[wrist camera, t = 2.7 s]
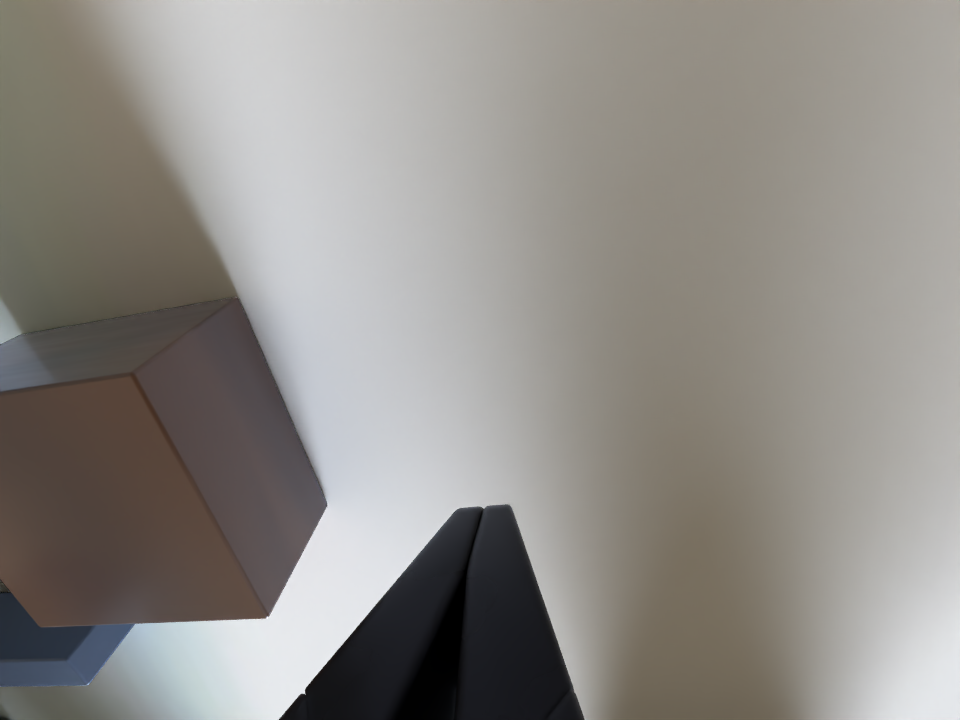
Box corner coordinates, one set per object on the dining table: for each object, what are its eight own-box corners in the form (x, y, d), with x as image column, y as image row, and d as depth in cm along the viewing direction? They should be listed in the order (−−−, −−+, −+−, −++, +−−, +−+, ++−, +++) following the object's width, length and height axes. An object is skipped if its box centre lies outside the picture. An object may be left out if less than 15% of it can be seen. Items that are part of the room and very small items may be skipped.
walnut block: (239, 295, 12) (131, 372, 9) (328, 505, 15) (268, 620, 12) (20, 334, 13) (-140, 413, 10) (138, 520, 16) (38, 628, 13)
